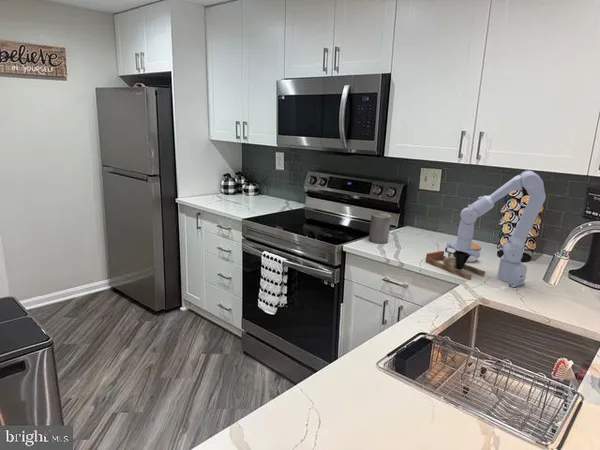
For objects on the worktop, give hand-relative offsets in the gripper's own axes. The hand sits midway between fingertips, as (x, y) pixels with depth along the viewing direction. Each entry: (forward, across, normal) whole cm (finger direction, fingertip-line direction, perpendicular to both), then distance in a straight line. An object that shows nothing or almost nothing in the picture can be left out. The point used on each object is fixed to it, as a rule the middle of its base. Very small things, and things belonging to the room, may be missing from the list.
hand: (459, 268), depth 178 cm
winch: (+2, -12, +8) cm, 14 cm away
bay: (+2, -3, 0) cm, 3 cm away
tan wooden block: (+1, -4, 0) cm, 4 cm away
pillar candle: (+2, -49, 0) cm, 49 cm away
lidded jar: (+2, -9, +16) cm, 18 cm away
